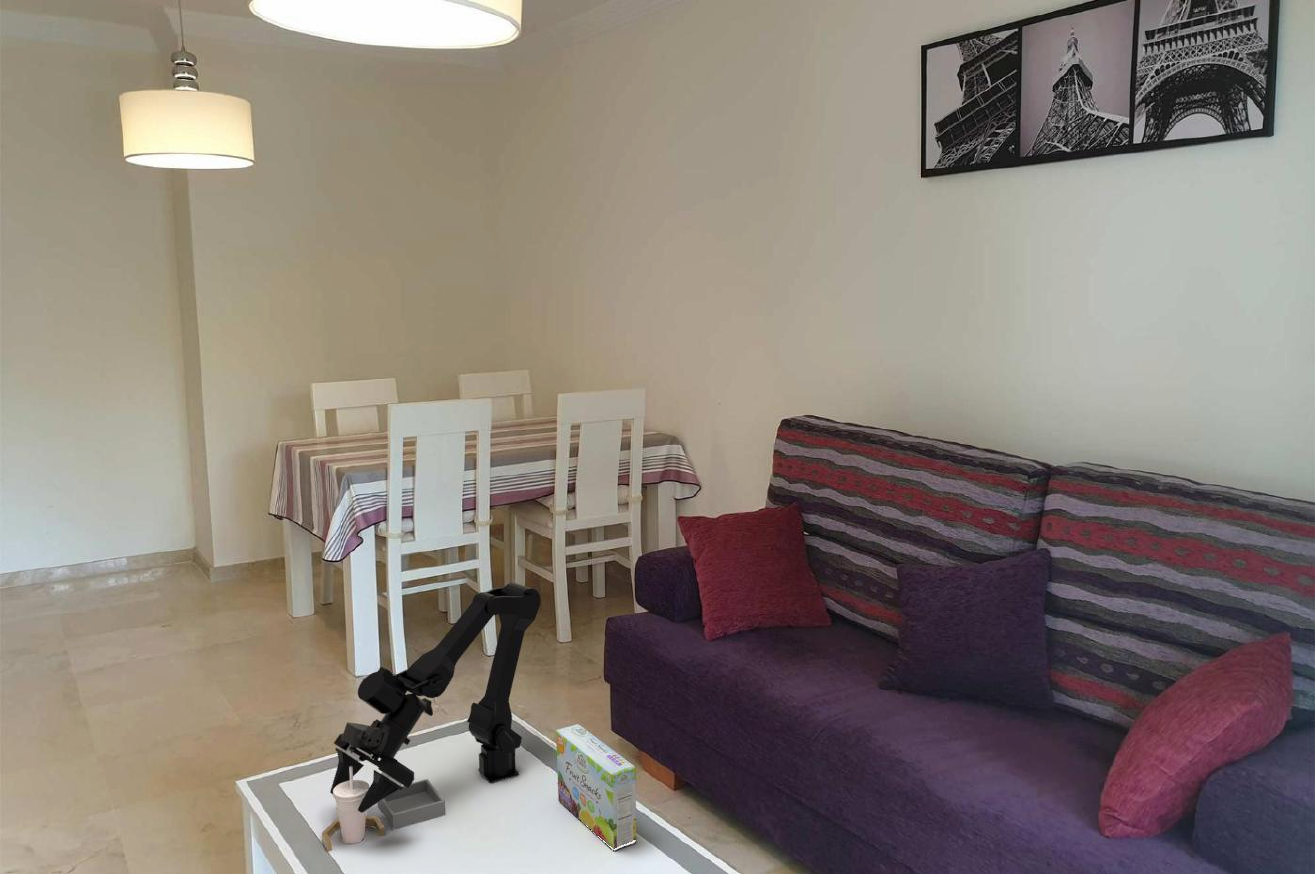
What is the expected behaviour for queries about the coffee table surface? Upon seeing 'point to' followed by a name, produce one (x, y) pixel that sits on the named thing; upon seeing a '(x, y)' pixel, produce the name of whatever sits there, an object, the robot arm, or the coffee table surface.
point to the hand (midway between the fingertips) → (345, 802)
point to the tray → (412, 804)
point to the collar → (336, 826)
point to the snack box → (596, 785)
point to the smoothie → (351, 808)
